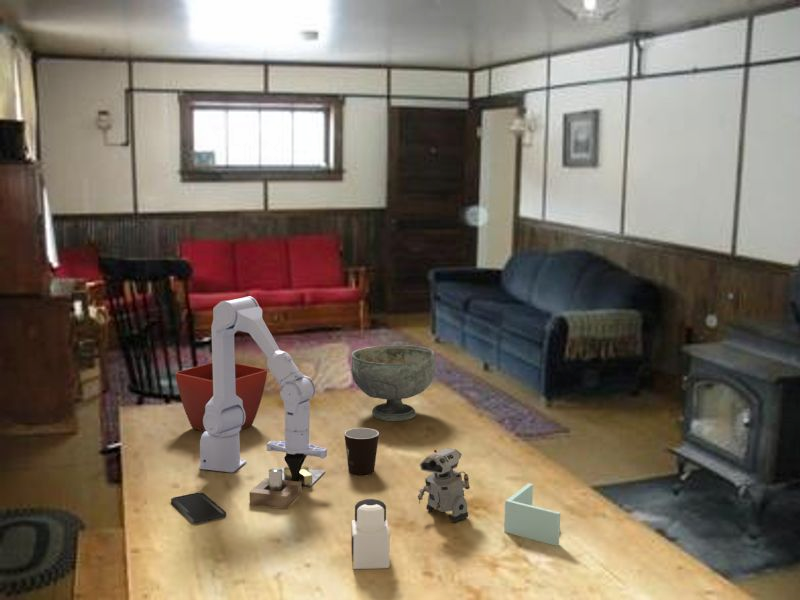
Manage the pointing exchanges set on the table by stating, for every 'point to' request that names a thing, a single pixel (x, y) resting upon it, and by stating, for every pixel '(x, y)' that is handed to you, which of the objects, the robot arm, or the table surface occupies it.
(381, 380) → the decorative bowl
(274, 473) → the pin
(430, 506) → the figurine
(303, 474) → the ring nut
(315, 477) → the plate
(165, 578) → the table surface
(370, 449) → the coffee mug
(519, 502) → the l-shaped corner panel
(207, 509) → the phone
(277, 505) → the socket block
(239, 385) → the plant pot
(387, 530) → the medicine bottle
